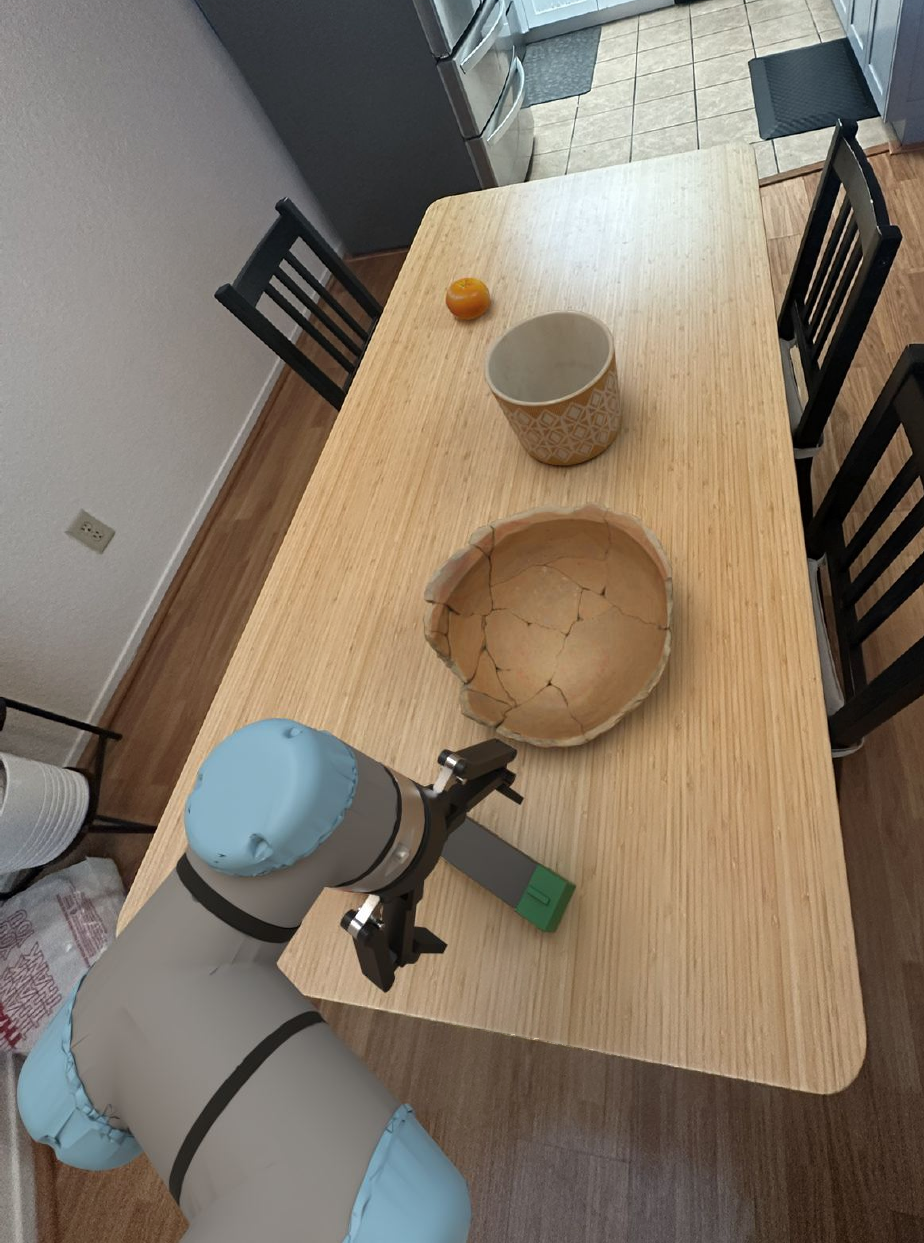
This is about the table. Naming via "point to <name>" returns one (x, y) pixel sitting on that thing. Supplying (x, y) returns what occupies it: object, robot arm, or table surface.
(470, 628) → the ceramic bowl
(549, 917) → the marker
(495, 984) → the table surface
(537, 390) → the planter
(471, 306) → the fruit
